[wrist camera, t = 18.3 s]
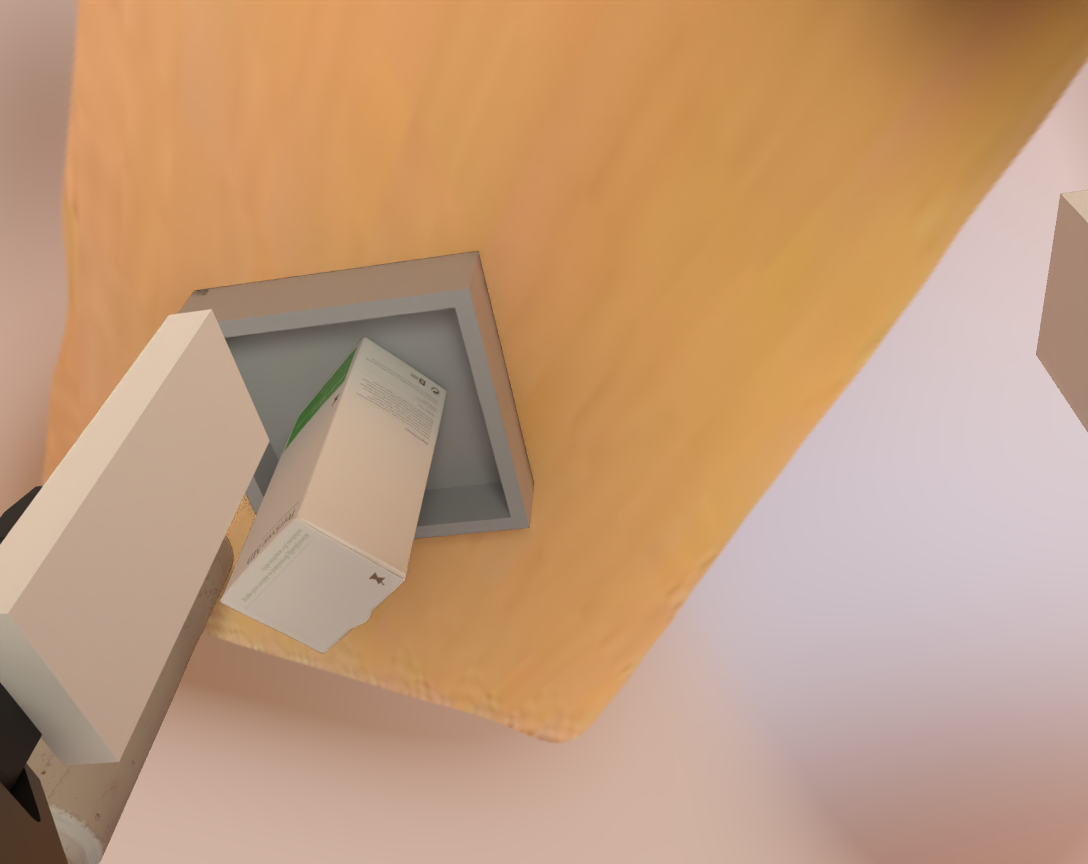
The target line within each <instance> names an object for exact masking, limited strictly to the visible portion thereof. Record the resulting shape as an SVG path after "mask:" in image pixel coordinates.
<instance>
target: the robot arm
mask: <svg viewBox="0 0 1088 864" xmlns="http://www.w3.org/2000/svg"><path fill="white" fill-rule="evenodd" d="M1036 355H1037V356H1038V358H1039V360H1040V361H1041V362H1042V364H1043V365H1044V367H1045V368H1046V370H1047V372H1048V373H1049V375H1050V376H1051V378H1052V379H1053V381H1054V382H1055V384H1056V385H1057V387H1058V388H1059V389H1060V391H1061V393H1062V394H1063V395H1064V397H1065V399H1066V400H1067V402H1068V403H1069V405H1070V406H1071V408H1072V409H1073V411H1074V412H1075V414H1076V415H1077V417H1078V418H1079V420H1080V421H1081V423H1082V424H1083V426H1084V427H1085V429H1086V430H1087V432H1088V190H1084V191H1076V192H1069V193H1062V194H1060V201H1059V208H1058V214H1057V221H1056V227H1055V234H1054V240H1053V247H1052V253H1051V260H1050V267H1049V273H1048V280H1047V286H1046V293H1045V299H1044V306H1043V313H1042V319H1041V325H1040V332H1039V339H1038V346H1037V352H1036ZM269 441H270V440H269V438H268V436H267V434H266V431H265V429H264V427H263V424H262V422H261V420H260V418H259V415H258V413H257V411H256V408H255V406H254V404H253V402H252V399H251V397H250V395H249V393H248V390H247V388H246V386H245V383H244V381H243V379H242V377H241V374H240V372H239V370H238V368H237V365H236V363H235V361H234V358H233V356H232V354H231V352H230V349H229V347H228V345H227V342H226V340H225V338H224V336H223V333H222V331H221V329H220V327H219V324H218V322H217V320H216V317H215V315H214V313H213V311H212V309H209V310H202V311H195V312H187V313H180V314H173V315H169V316H168V317H167V318H166V320H165V321H164V322H163V324H162V325H161V326H160V328H159V329H158V331H157V332H156V333H155V335H154V336H153V337H152V339H151V340H150V341H149V343H148V344H147V345H146V347H145V348H144V350H143V351H142V352H141V354H140V355H139V356H138V358H137V359H136V360H135V362H134V363H133V365H132V366H131V367H130V369H129V370H128V371H127V373H126V374H125V375H124V377H123V378H122V379H121V381H120V382H119V384H118V385H117V386H116V388H115V389H114V390H113V392H112V393H111V394H110V396H109V397H108V399H107V400H106V401H105V403H104V404H103V405H102V407H101V408H100V409H99V411H98V412H97V414H96V415H95V416H94V418H93V419H92V420H91V422H90V423H89V424H88V426H87V427H86V428H85V430H84V431H83V433H82V434H81V435H80V437H79V438H78V439H77V441H76V442H75V443H74V445H73V446H72V448H71V449H70V450H69V452H68V453H67V454H66V456H65V457H64V458H63V460H62V461H61V463H60V464H59V465H58V467H57V468H56V469H55V471H54V472H53V473H52V475H51V476H50V477H49V479H48V480H47V482H46V483H45V484H44V486H38V487H35V488H34V489H32V490H31V491H30V492H29V493H27V494H26V495H25V496H24V497H23V498H21V499H20V500H19V501H18V502H16V503H15V504H14V505H13V506H12V507H10V508H9V509H8V510H7V511H5V512H4V514H3V515H2V516H1V518H0V864H68V861H67V858H66V855H65V852H64V849H63V847H62V844H61V841H60V838H59V835H58V832H57V829H56V826H55V823H54V820H53V817H52V814H51V811H50V808H49V805H48V802H47V799H46V796H45V793H44V790H43V787H42V784H41V781H40V779H39V778H38V777H37V775H36V774H35V773H34V771H33V770H32V769H31V768H30V767H29V765H28V764H27V761H28V760H29V758H30V756H31V754H32V752H33V751H34V749H35V747H36V745H37V743H38V742H39V740H40V738H42V739H43V740H44V741H45V743H46V744H47V745H48V746H49V748H50V749H51V750H52V751H53V753H54V754H55V755H56V756H57V758H58V759H59V760H60V761H61V762H62V764H63V765H78V764H95V763H111V762H119V761H120V759H121V757H122V754H123V752H124V750H125V748H126V746H127V744H128V742H129V740H130V737H131V735H132V733H133V731H134V729H135V727H136V725H137V722H138V720H139V718H140V716H141V714H142V712H143V710H144V708H145V705H146V703H147V701H148V699H149V697H150V695H151V693H152V691H153V688H154V686H155V684H156V682H157V680H158V678H159V676H160V673H161V671H162V669H163V667H164V665H165V663H166V661H167V659H168V656H169V654H170V652H171V650H172V648H173V646H174V644H175V641H176V639H177V637H178V635H179V633H180V631H181V629H182V627H183V624H184V622H185V620H186V618H187V616H188V614H189V612H190V609H191V607H192V605H193V603H194V601H195V599H196V597H197V595H198V592H199V590H200V588H201V586H202V584H203V582H204V580H205V578H206V575H207V573H208V571H209V569H210V567H211V565H212V563H213V560H214V558H215V556H216V554H217V552H218V550H219V548H220V546H221V543H222V541H223V539H224V537H225V535H226V533H227V531H228V528H229V526H230V524H231V522H232V520H233V518H234V516H235V514H236V511H237V509H238V507H239V505H240V503H241V501H242V499H243V497H244V494H245V492H246V490H247V488H248V486H249V484H250V482H251V479H252V477H253V475H254V473H255V471H256V469H257V467H258V465H259V462H260V460H261V458H262V456H263V454H264V452H265V450H266V447H267V445H268V443H269Z"/></svg>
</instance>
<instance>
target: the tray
mask: <svg viewBox="0 0 1088 864" xmlns="http://www.w3.org/2000/svg"><path fill="white" fill-rule="evenodd" d="M209 309H212V311H213V313H214V315H215V317H216V320H217V322H218V324H219V327H220V329H221V331H222V333H223V336H224V338H225V340H226V342H227V345H228V347H229V349H230V352H231V354H232V356H233V358H234V361H235V363H236V365H237V368H238V370H239V372H240V374H241V377H242V379H243V381H244V383H245V386H246V388H247V390H248V393H249V395H250V397H251V399H252V402H253V404H254V406H255V408H256V411H257V413H258V415H259V418H260V420H261V422H262V424H263V427H264V429H265V431H266V434H267V436H268V438H269V440H270V441H269V443H268V445H267V447H266V450H265V452H264V454H263V456H262V458H261V460H260V462H259V465H258V467H257V469H256V471H255V473H254V475H253V477H252V479H251V482H250V484H249V486H248V488H247V490H246V492H245V493H246V495H247V497H248V499H249V501H250V503H251V506H252V508H253V510H254V512H255V514H256V515H257V512H258V510H259V508H260V505H261V503H262V500H263V498H264V496H265V493H266V491H267V488H268V486H269V484H270V481H271V479H272V476H273V474H274V472H275V469H276V467H277V464H278V462H279V460H280V457H281V455H282V452H283V450H284V448H285V445H286V443H287V440H288V438H289V435H290V433H291V431H292V428H293V426H294V424H295V421H296V419H297V417H298V415H299V413H300V412H301V411H302V409H303V408H304V407H305V406H306V405H307V404H308V402H309V401H310V400H311V399H312V398H313V397H314V395H315V394H316V393H317V392H318V391H319V389H320V388H321V387H322V386H323V384H324V383H325V382H326V381H327V379H328V378H329V377H330V376H331V375H332V373H333V372H334V371H335V370H336V368H337V367H338V366H339V365H340V364H341V362H342V361H343V360H344V359H345V358H346V357H347V356H348V354H349V353H350V352H351V351H352V350H353V348H354V347H355V346H356V345H357V343H358V342H359V341H360V340H361V339H362V338H363V337H367V338H368V339H370V340H371V341H373V342H374V343H376V344H377V345H379V346H381V347H382V348H384V349H385V350H386V351H388V352H389V353H391V354H392V355H394V356H396V357H397V358H399V359H400V360H402V361H403V362H405V363H406V364H408V365H409V366H411V367H412V368H414V369H415V370H417V371H418V372H420V373H421V374H423V375H424V376H426V377H427V378H429V379H430V380H431V381H433V382H434V383H436V384H437V385H439V386H440V387H442V388H443V389H445V390H446V391H447V392H448V394H447V397H446V401H445V405H444V409H443V414H442V418H441V422H440V427H439V431H438V435H437V440H436V444H435V448H434V453H433V457H432V461H431V466H430V470H429V474H428V479H427V483H426V487H425V492H424V496H423V500H422V505H421V509H420V514H419V518H418V523H417V527H416V532H415V536H414V539H416V538H427V537H437V536H448V535H459V534H469V533H480V532H491V531H501V530H512V529H523V528H530V519H531V509H532V499H533V489H534V481H533V477H532V473H531V469H530V465H529V460H528V456H527V452H526V448H525V444H524V439H523V435H522V431H521V427H520V423H519V419H518V414H517V410H516V406H515V402H514V398H513V394H512V389H511V385H510V381H509V377H508V373H507V369H506V364H505V360H504V356H503V352H502V348H501V344H500V339H499V335H498V331H497V327H496V323H495V318H494V314H493V310H492V306H491V302H490V298H489V293H488V289H487V285H486V281H485V277H484V273H483V268H482V264H481V260H480V256H479V252H478V251H475V252H468V253H461V254H454V255H446V256H439V257H432V258H425V259H418V260H411V261H403V262H396V263H389V264H382V265H375V266H368V267H360V268H353V269H346V270H339V271H332V272H325V273H318V274H310V275H303V276H296V277H289V278H282V279H275V280H267V281H260V282H253V283H246V284H239V285H232V286H224V287H217V288H210V289H203V290H196V291H194V292H193V293H192V295H191V296H190V298H189V299H188V300H187V302H186V303H185V305H184V306H183V307H182V309H181V310H180V311H179V313H178V314H180V313H187V312H195V311H202V310H209Z"/></svg>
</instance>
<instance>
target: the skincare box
mask: <svg viewBox="0 0 1088 864" xmlns="http://www.w3.org/2000/svg"><path fill="white" fill-rule="evenodd" d="M447 394H448V392H447V391H446V390H445V389H443V388H442V387H440V386H439V385H437V384H436V383H434V382H433V381H431V380H430V379H429V378H427V377H426V376H424V375H423V374H421V373H420V372H418V371H417V370H415V369H414V368H412V367H411V366H409V365H408V364H406V363H405V362H403V361H402V360H400V359H399V358H397V357H396V356H394V355H392V354H391V353H389V352H388V351H386V350H385V349H384V348H382V347H381V346H379V345H377V344H376V343H374V342H373V341H371V340H370V339H368V338H367V337H363V338H362V339H361V340H360V341H359V342H358V343H357V345H356V346H355V347H354V348H353V350H352V351H351V352H350V353H349V354H348V356H347V357H346V358H345V359H344V360H343V361H342V362H341V364H340V365H339V366H338V367H337V368H336V370H335V371H334V372H333V373H332V375H331V376H330V377H329V378H328V379H327V381H326V382H325V383H324V384H323V386H322V387H321V388H320V389H319V391H318V392H317V393H316V394H315V395H314V397H313V398H312V399H311V400H310V401H309V402H308V404H307V405H306V406H305V407H304V408H303V409H302V411H301V412H300V413H299V415H298V417H297V419H296V421H295V424H294V426H293V428H292V431H291V433H290V435H289V438H288V440H287V443H286V445H285V448H284V450H283V452H282V455H281V457H280V460H279V462H278V464H277V467H276V469H275V472H274V474H273V476H272V479H271V481H270V484H269V486H268V488H267V491H266V493H265V496H264V498H263V500H262V503H261V505H260V508H259V510H258V512H257V515H256V517H255V520H254V522H253V524H252V527H251V529H250V532H249V534H248V536H247V539H246V541H245V544H244V546H243V548H242V551H241V553H240V556H239V558H238V561H237V563H236V565H235V568H234V570H233V573H232V575H231V577H230V580H229V582H228V585H227V587H226V590H225V592H224V594H223V596H222V598H221V599H220V602H221V603H223V604H225V605H226V606H228V607H230V608H232V609H234V610H236V611H238V612H240V613H242V614H244V615H246V616H248V617H250V618H252V619H254V620H256V621H258V622H261V623H263V624H265V625H267V626H269V627H271V628H273V629H275V630H277V631H279V632H281V633H283V634H285V635H287V636H289V637H291V638H293V639H295V640H297V641H299V642H301V643H303V644H305V645H306V646H308V647H310V648H312V649H314V650H316V651H318V652H320V653H322V654H324V653H326V652H327V650H328V649H330V648H331V647H332V646H333V645H334V644H335V643H337V642H338V641H339V640H340V639H341V638H342V637H344V636H345V635H346V634H347V633H348V632H349V631H350V630H352V629H353V628H354V627H356V626H359V625H362V624H364V623H365V622H366V621H367V620H368V619H369V618H370V616H371V614H372V610H373V609H375V608H376V607H377V606H378V605H379V604H380V603H381V602H382V601H383V600H385V599H386V598H387V597H388V596H389V595H390V594H391V593H392V592H393V591H394V590H395V589H397V588H398V587H399V586H400V585H401V584H402V583H403V582H404V581H405V578H406V575H407V568H408V563H409V558H410V554H411V550H412V545H413V541H414V536H415V532H416V527H417V523H418V518H419V514H420V509H421V505H422V500H423V496H424V492H425V487H426V483H427V479H428V474H429V470H430V466H431V461H432V457H433V453H434V448H435V444H436V440H437V435H438V431H439V427H440V422H441V418H442V414H443V409H444V405H445V401H446V397H447Z"/></svg>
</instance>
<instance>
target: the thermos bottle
mask: <svg viewBox="0 0 1088 864" xmlns="http://www.w3.org/2000/svg"><path fill="white" fill-rule="evenodd" d="M232 563H233V552H232V547H231V545H230V543H229V541H228V539H227V537H226V536H225V537H224V539H223V541H222V543H221V546H220V548H219V550H218V552H217V554H216V556H215V558H214V560H213V563H212V565H211V567H210V569H209V571H208V573H207V575H206V578H205V580H204V582H203V584H202V586H201V588H200V590H199V592H198V595H197V597H196V599H195V601H194V603H193V605H192V607H191V609H190V612H189V614H188V616H187V618H186V620H185V622H184V624H183V627H182V629H181V631H180V633H179V635H178V637H177V639H176V641H175V644H174V646H173V648H172V650H171V652H170V654H169V656H168V659H167V661H166V663H165V665H164V667H163V669H162V671H161V673H160V676H159V678H158V680H157V682H156V684H155V686H154V688H153V691H152V693H151V695H150V697H149V699H148V701H147V703H146V705H145V708H144V710H143V712H142V714H141V716H140V718H139V720H138V722H137V725H136V727H135V729H134V731H133V733H132V735H131V737H130V740H129V742H128V744H127V746H126V748H125V750H124V752H123V754H122V757H121V759H120V761H119V762H111V763H95V764H78V765H63V764H62V762H61V761H60V760H59V759H58V758H57V756H56V755H55V754H54V753H53V751H52V750H51V749H50V748H49V746H48V745H47V744H46V743H45V741H44V740H43V739H42V738H40V740H39V742H38V743H37V745H36V747H35V749H34V751H33V752H32V754H31V756H30V758H29V760H28V761H27V764H28V765H29V767H30V768H31V769H32V770H33V771H34V773H35V774H36V775H37V777H38V778H39V779H40V781H41V784H42V787H43V790H44V793H45V796H46V799H47V802H48V805H49V808H50V811H51V814H52V817H53V820H54V823H55V826H56V829H57V832H58V835H59V838H60V841H61V844H62V847H63V849H64V852H65V855H66V858H67V861H68V864H98V863H99V862H100V861H101V859H102V857H103V855H104V852H105V850H106V848H107V846H108V843H109V841H110V839H111V836H112V834H113V832H114V830H115V827H116V825H117V823H118V821H119V819H120V816H121V814H122V812H123V810H124V807H125V805H126V803H127V800H128V798H129V796H130V794H131V792H132V789H133V787H134V785H135V783H136V780H137V778H138V776H139V774H140V771H141V769H142V767H143V764H144V762H145V760H146V758H147V756H148V753H149V751H150V749H151V747H152V744H153V742H154V740H155V737H156V735H157V733H158V731H159V729H160V726H161V724H162V722H163V719H164V717H165V715H166V713H167V710H168V708H169V706H170V704H171V702H172V699H173V697H174V695H175V693H176V690H177V688H178V685H179V683H180V681H181V678H182V676H183V674H184V671H185V669H186V667H187V664H188V662H189V660H190V657H191V655H192V653H193V651H194V648H195V646H196V644H197V642H198V640H199V638H200V636H201V634H202V632H203V630H204V627H205V625H206V623H207V621H208V618H209V616H210V614H211V612H212V609H213V607H214V605H215V603H216V600H217V598H218V596H219V594H220V591H221V589H222V587H223V585H224V582H225V580H226V578H227V576H228V573H229V571H230V569H231V566H232Z"/></svg>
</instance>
